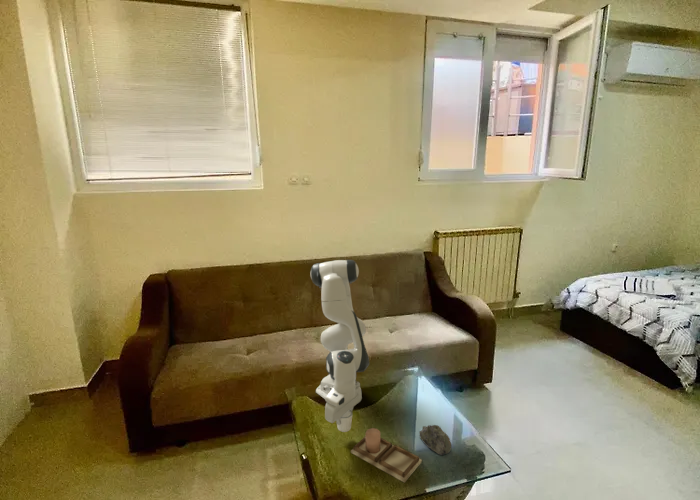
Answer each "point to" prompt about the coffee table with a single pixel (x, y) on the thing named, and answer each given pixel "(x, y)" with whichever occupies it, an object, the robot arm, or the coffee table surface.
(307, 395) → the coffee table surface
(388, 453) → the divided wooden tray
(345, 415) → the white cylinder
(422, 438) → the mineral rock
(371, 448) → the tan rounded cylinder
